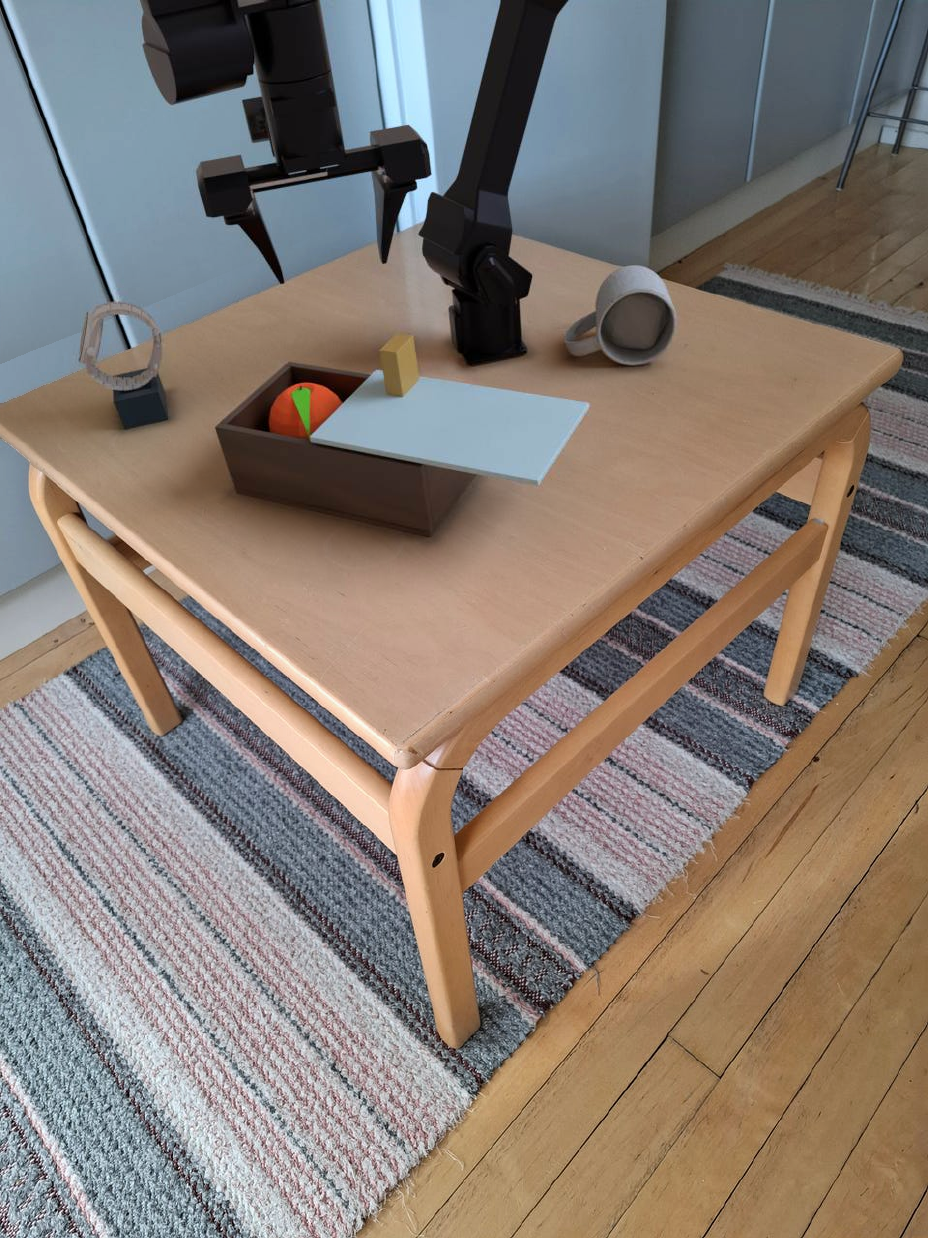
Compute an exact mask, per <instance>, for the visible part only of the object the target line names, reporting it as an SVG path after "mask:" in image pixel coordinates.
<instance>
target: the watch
mask: <svg viewBox="0 0 928 1238" xmlns="http://www.w3.org/2000/svg"><path fill="white" fill-rule="evenodd" d="M116 315H121V316H129V317H132V318H134V319H138V320H139V321H141V322H143V324H146V326H147V327H149V329H150V330H151V333H152V349H151V354H150V356H149V357H150V358H149V360H148V363H147V364H146V366H147V367H146V368H141V369H137V370H133V371H129V372H123V373H118V374H114V375H111V374H108V373H106V372H104V371H103V370H101V369H99V368H98V367H96V365H95V364H96V363H97V361H98V358H99V353H100V348H101V342H102V336H103V330H104V329H103V328H104V318H106V317H108V316H116ZM79 342H80V343H79V349H78V350H79V351H78V363H79V364H81V365H84V369H85V372H86V373H87V375H88V376H89V377H91V378H92V379H93V380H94V381H95V382H97V383H98V384H99V385H101V386H103V387H105V388H108V389H111V390H112V392H113V393H112V394H113V396H112V397H113V399H112V400H113V404H114V406H115V409H116V411H117V414H118V417H119V419H120V421H121V423H122V424H121V425H122V427H123V428H124V430H129V429H134V428H138V427H141V426H146V425H150V424H155V423H159V422H164V421H167V420H169V412H168V403H167V394H166V391H165V388H164V385H163V382H162V379H161V377H160V374H159V369H160V367H161V362H162V354H163V341H162V333H161V332H160V331H159V327H158V324H157V323H156V321H155V320H154V318H153V317H152V316H151V314H149V313H147V311H145V309H143V308H141V307H139V306H137V305H135V304H132V303H128V302H126V301H110V302H105V303H102V304H99V305H97V306H96V307H95V308H94V309H93V311H90V310H88V311H87V312H86V314H85V317H84V321H83V325H82V331H81V336H80V341H79Z"/></svg>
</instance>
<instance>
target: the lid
mask: <svg viewBox="0 0 928 1238" xmlns="http://www.w3.org/2000/svg"><path fill="white" fill-rule="evenodd" d="M379 357H380V364H381V369H382V370H381V369H376V370H374V371H373V372H372V373H371V374H370V375H371V376H370V377H369V378H368V379H367V380H366V381H365V382H364V383H363V384H362V385H361V386H360V387H359V388H358V389H357V390H356V391H355V392H354V393H353V394H352V395H351V396H350V397H349V398H348V399H347V400H346V401H345V402H344V403H343V404H342V405H341V406H340V407H339V408H338V409H337V410H336V411H335V412H334V413H333V414H332V415H331V416H330V417H329V418H328V419H327V420H326V421H325V422H324V423H323V424H322V425H321V426H320V427H319V428H318V429H317V430H316V431H315V432H314V433H313V434H312V435H311V436H310V440H311V442H314V443H319V444H324V445H329V446H334V447H339V448H345V449H350V450H355V451H360V452H365V453H370V454H375V455H380V456H386V457H391V458H396V459H401V460H406V461H411V462H416V463H421V464H427V465H432V466H437V467H442V468H447V469H452V470H457V471H462V472H468V473H473V474H477V476H478V475H479V476H483V477H489V478H494V479H499V480H505V481H509V482H515V483H520V484H524V485H530V486H533V487H534V486H535V487H539V486H540V484H541V482H542V481H543V480H544V478H545V476H546V475H547V474H548V471H549V470H550V469H551V468H552V466H553V465H554V463H555V461H556V460H557V458H558V457H559V455H560V454H561V452H562V450H563V449H564V447H565V446H566V445H567V443H568V442H569V440H570V438H571V436H572V435H573V434H574V432H575V430H576V429H577V427H578V426H579V424H580V423H581V421H582V420H583V418H584V417H585V415H586V414H587V412H588V411H589V409H590V403H589V402H587V401H580V400H574V399H567V398H560V397H556V396H555V397H554V396H548V395H542V394H535V393H530V392H524V391H523V392H522V391H516V390H509V389H503V388H496V387H491V386H485V385H478V384H471V383H466V382H458V381H451V380H446V379H440V378H439V379H438V378H433V377H425V376H421V375H419V370H418V369H419V367H418V360H417V353H416V346H415V339H414V335H412V334H404V333H395V334H394V335H393V336H392V337H391V338H390V339H388V340H387V342H386V343H385V344H384V345H383V346H382V347H381V348H380V349H379Z"/></svg>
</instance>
